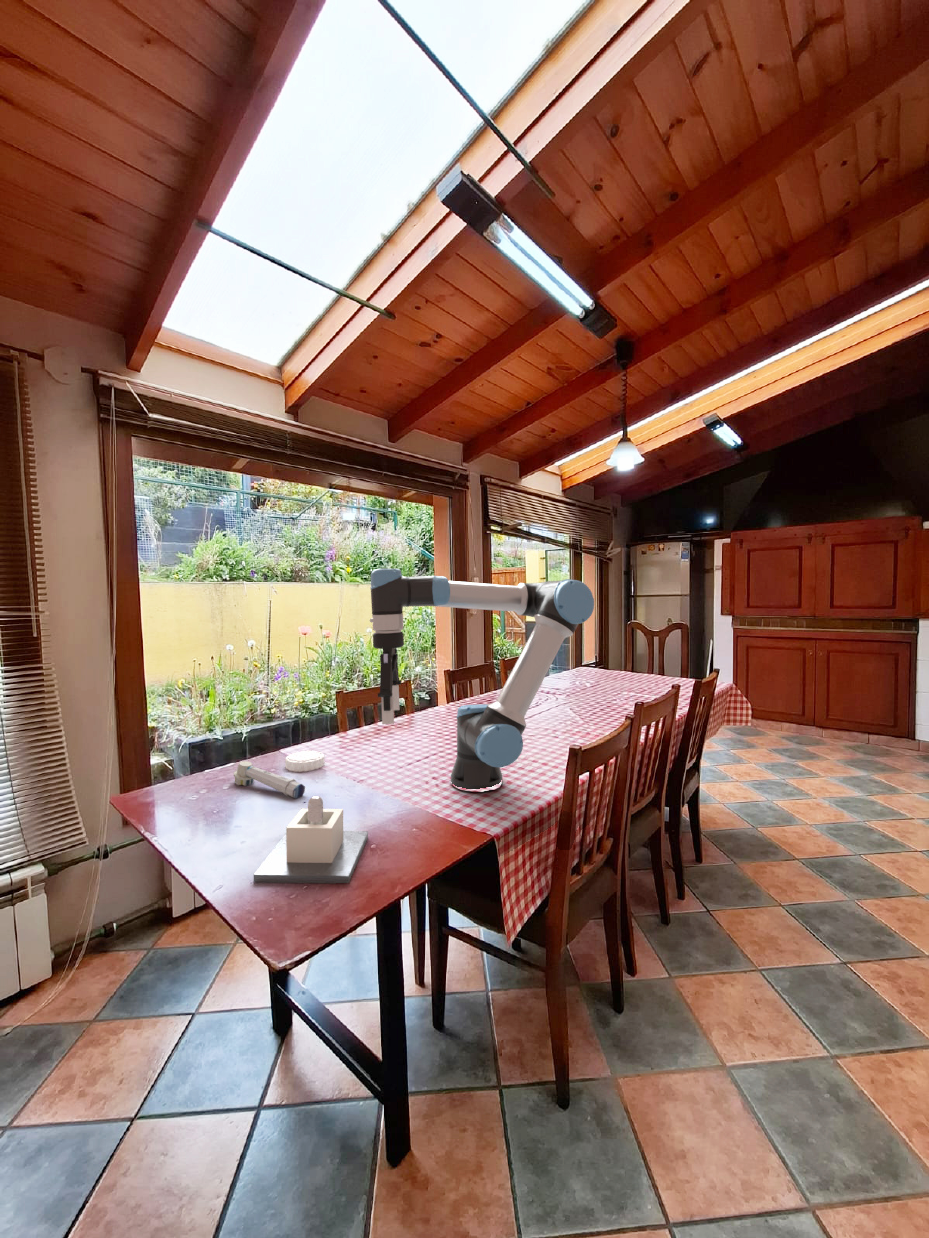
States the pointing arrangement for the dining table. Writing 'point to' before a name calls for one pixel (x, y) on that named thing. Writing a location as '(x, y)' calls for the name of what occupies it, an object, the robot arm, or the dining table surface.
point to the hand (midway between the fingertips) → (391, 716)
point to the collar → (314, 837)
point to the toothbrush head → (267, 780)
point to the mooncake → (304, 761)
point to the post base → (293, 872)
